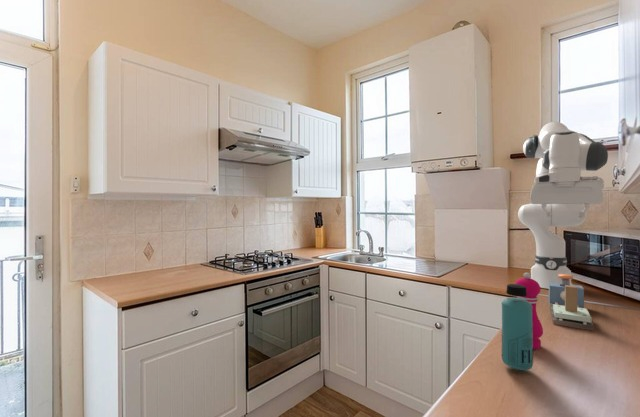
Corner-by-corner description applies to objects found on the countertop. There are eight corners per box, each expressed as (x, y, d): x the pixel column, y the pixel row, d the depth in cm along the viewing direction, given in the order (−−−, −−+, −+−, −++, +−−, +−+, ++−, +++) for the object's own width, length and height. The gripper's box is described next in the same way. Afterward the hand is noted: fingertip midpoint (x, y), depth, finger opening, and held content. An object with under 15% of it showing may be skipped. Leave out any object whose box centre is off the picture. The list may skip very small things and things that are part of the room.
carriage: (553, 308, 111) (553, 281, 111) (586, 313, 106) (586, 284, 106) (555, 317, 103) (555, 287, 102) (591, 322, 98) (591, 291, 97)
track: (549, 306, 120) (549, 301, 120) (583, 311, 114) (583, 305, 114) (553, 324, 103) (553, 317, 103) (593, 330, 97) (593, 323, 97)
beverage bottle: (522, 379, 71) (522, 290, 70) (494, 366, 77) (494, 283, 76) (540, 372, 74) (540, 286, 73) (512, 360, 80) (512, 280, 79)
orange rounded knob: (557, 286, 122) (557, 273, 122) (572, 287, 120) (572, 274, 120) (558, 288, 119) (558, 275, 119) (573, 290, 116) (573, 277, 116)
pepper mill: (533, 339, 91) (533, 270, 91) (549, 350, 84) (549, 275, 84) (507, 338, 92) (507, 269, 92) (520, 349, 85) (520, 275, 85)
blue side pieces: (548, 302, 125) (548, 282, 124) (581, 307, 119) (581, 285, 119) (549, 307, 119) (549, 285, 119) (584, 311, 114) (584, 289, 114)
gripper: (602, 177, 108) (602, 217, 108) (529, 179, 119) (529, 216, 119) (605, 174, 103) (605, 217, 102) (529, 178, 114) (529, 216, 114)
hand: (564, 217), depth 111 cm, fingers open, 8 cm apart
